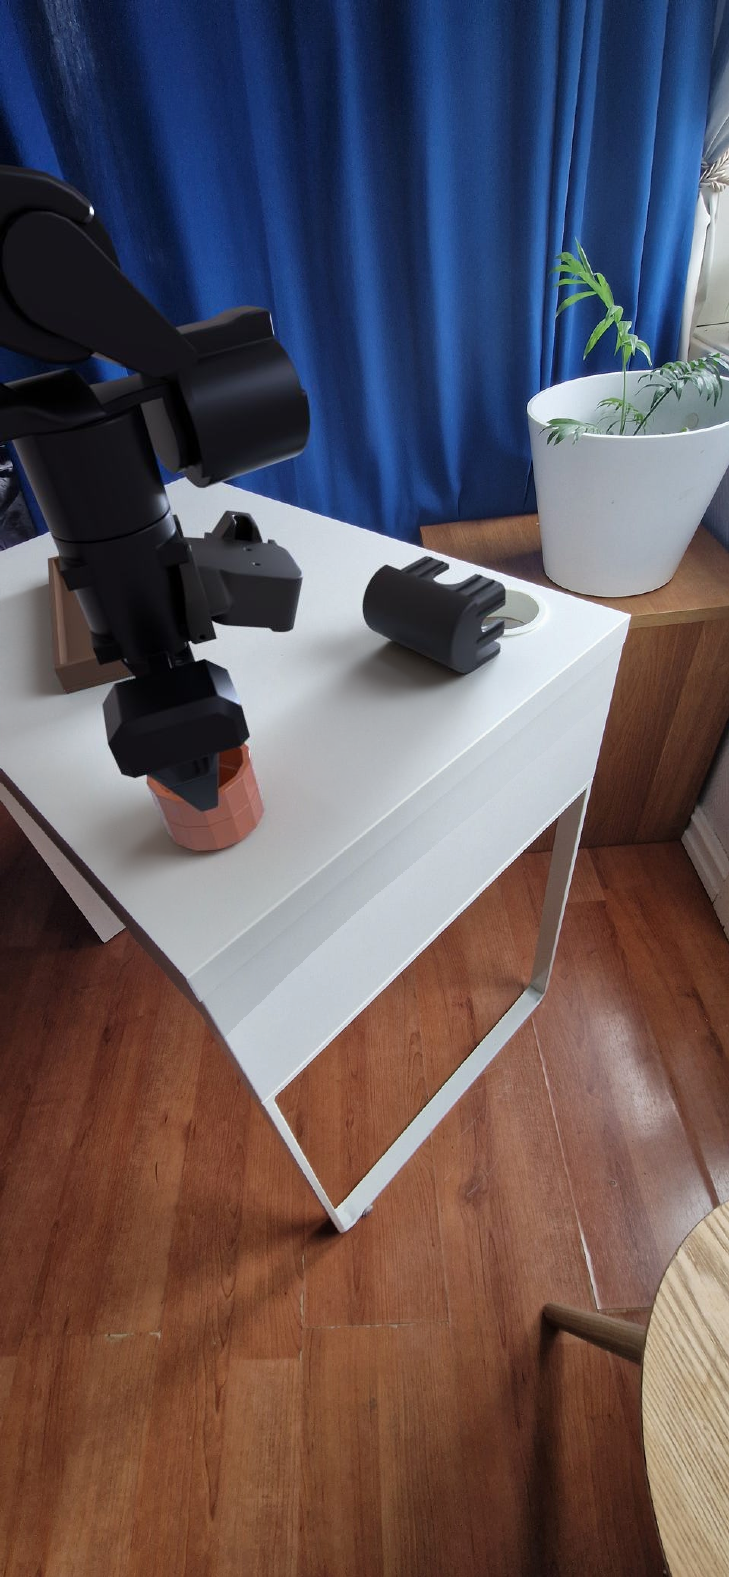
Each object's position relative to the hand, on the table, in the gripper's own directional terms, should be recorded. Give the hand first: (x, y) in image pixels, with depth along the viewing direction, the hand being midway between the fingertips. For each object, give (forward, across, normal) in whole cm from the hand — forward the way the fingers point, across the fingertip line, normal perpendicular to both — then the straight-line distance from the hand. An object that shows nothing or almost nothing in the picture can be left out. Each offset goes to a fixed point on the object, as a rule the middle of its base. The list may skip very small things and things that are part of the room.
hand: (195, 761), depth 44 cm
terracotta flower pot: (+5, 0, 0) cm, 5 cm away
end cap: (+6, +12, -22) cm, 25 cm away
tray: (+5, +33, +4) cm, 34 cm away
